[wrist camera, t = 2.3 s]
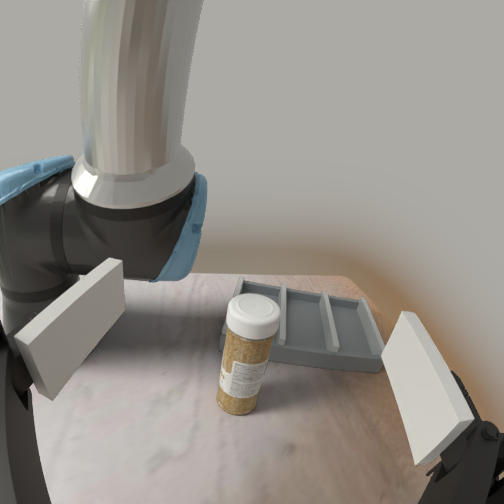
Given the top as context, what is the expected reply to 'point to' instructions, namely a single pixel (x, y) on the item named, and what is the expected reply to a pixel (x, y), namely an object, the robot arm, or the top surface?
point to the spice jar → (246, 350)
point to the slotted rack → (319, 329)
